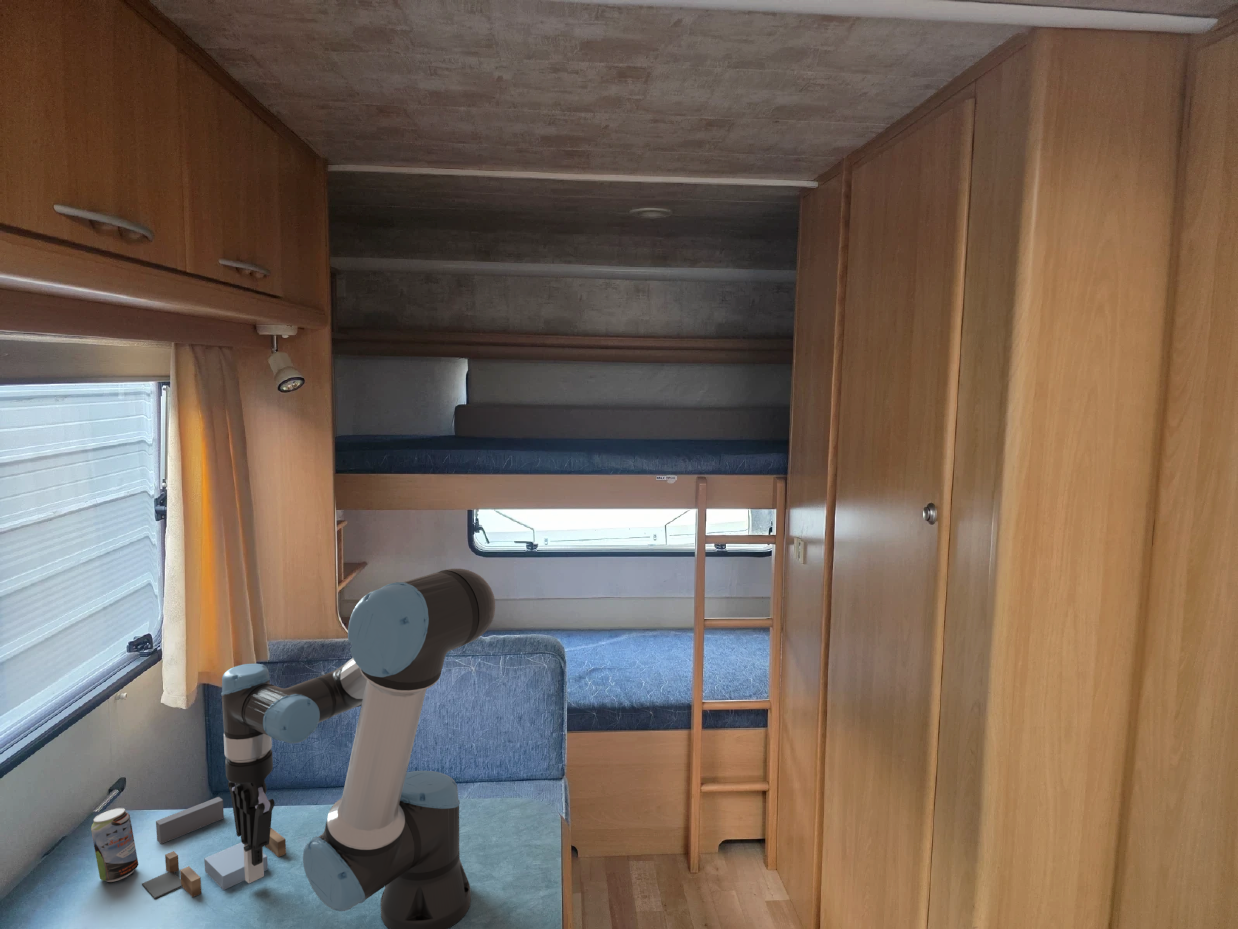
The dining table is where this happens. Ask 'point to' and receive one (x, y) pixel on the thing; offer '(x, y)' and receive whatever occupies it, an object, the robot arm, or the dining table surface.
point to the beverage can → (114, 845)
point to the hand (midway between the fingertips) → (254, 878)
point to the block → (228, 866)
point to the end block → (189, 820)
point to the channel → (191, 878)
